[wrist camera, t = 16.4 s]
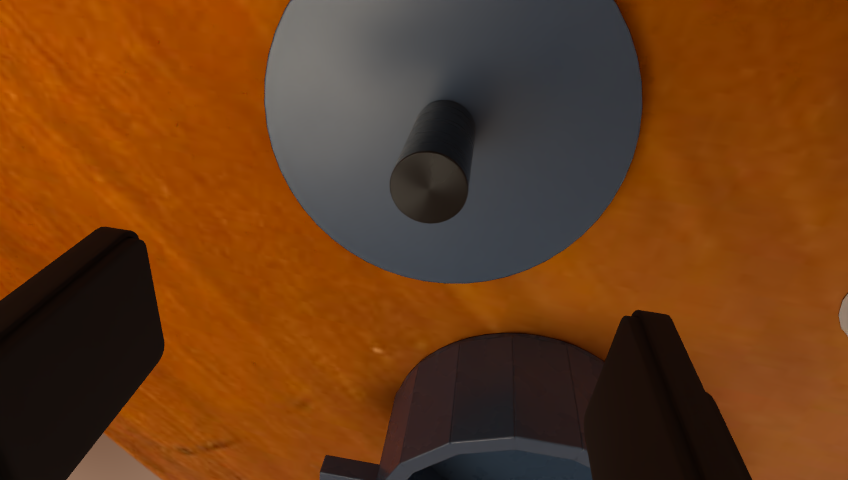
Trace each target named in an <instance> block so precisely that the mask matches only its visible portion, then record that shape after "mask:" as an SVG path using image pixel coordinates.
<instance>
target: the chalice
mask: <svg viewBox="0 0 848 480" xmlns="http://www.w3.org/2000/svg"><path fill="white" fill-rule="evenodd" d="M839 319H840V324H841V328H842V329H843V331H844V332H845V333H846V334H847V336H848V294H847V295H846V297H845V298H844V300H843V301H842V305H841V309H840V312H839Z"/></svg>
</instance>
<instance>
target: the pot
mask: <svg viewBox="0 0 848 480" xmlns="http://www.w3.org/2000/svg"><path fill="white" fill-rule="evenodd" d="M603 365H604V362H603V361H602V360H600V359H599V358H597V357H596V356H594V355H592V354H591V353H589V352H587V351H585V350H583V349H581V348H578V347H576V346H574V345H572V344H569V343H566V342H563V341H560V340H557V339H552V338H547V337H543V336H538V335H529V334H516V333H501V334H490V335H482V336H477V337H472V338H468V339H465V340H461V341H458V342H455V343H452V344H450V345H448V346H445V347H443V348H441V349H439V350H437V351H436V352H434V353H432V354H431V355H429V356H427V357H426V358H425V359H424V360H422V361H421V362H420V363H419V364H417V365H416V366H415V368H414V369H413V370H412V371H411V372H410V373H409V374H408V375H407V377H406V379H405V380H404V382H403V383H402V385H401V387H400V389H399V390H398V392H397V393H396V395H395V400H394V404H393V409H392V413H391V417H390V422H389V426H388V430H387V435H386V439H385V444H384V448H383V452H382V457H381V461H380V465H378V464H373V463H367V462H362V461H357V460H351V459H346V458H340V457H335V456H329V455H326V456H325V458H324V461H323V464H322V467H321V470H320V480H593V479H592V474H591V468H590V463H589V457H588V452H587V446H586V441H585V435H584V416H585V412H586V409H587V407H588V404H589V402H590V399H591V396H592V394H593V391H594V389H595V386H596V383H597V381H598V378H599V376H600V373H601V371H602V368H603Z"/></svg>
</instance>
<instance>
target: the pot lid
mask: <svg viewBox="0 0 848 480" xmlns="http://www.w3.org/2000/svg"><path fill="white" fill-rule="evenodd" d="M264 104H265V113H266V122H267V128H268V133H269V137H270V141H271V145H272V149H273V152H274V154H275V157H276V160H277V162H278V165H279V168H280V170H281V172H282V174H283V176H284V178H285V180H286V182H287V184H288V186H289V188H290V190H291V191H292V193H293V194H294V196H295V197H296V199H297V200H298V202H299V203H300V205H301V206H302V208H303V209H304V210H305V211H306V212H307V213H308V215H309V216H310V217H311V218H312V219H313V220H314V222H315V223H316V224H317V225H318V226H319V227H320V228H321V229H322V230H323V231H325V232H326V233H327V234H328V235H329V236H330V237H331V238H332V239H333V240H335V241H336V242H337V243H339V244H340V245H341V246H343V247H344V248H345V249H347V250H348V251H349V252H351V253H353V254H355V255H356V256H358V257H360V258H361V259H363V260H365V261H366V262H368V263H371V264H373V265H375V266H377V267H379V268H382V269H384V270H386V271H389V272H392V273H395V274H398V275H401V276H404V277H408V278H413V279H417V280H422V281H428V282H438V283H474V282H483V281H490V280H494V279H499V278H503V277H508V276H510V275H513V274H516V273H519V272H522V271H525V270H528V269H530V268H532V267H534V266H536V265H538V264H540V263H543V262H545V261H547V260H548V259H550V258H552V257H553V256H555V255H556V254H558V253H560V252H561V251H563V250H564V249H566V248H567V247H568V246H569V245H571V244H572V243H573V242H574V241H576V240H577V239H578V238H579V237H581V236H582V235H583V234H584V233H585V232H586V231H587V230H588V229H589V228H590V227H591V226H592V225H593V224H594V223H595V222H596V221H597V220H598V218H599V217H600V216H601V214H602V213H603V212H604V210H605V209H606V208H607V206H608V205H609V204H610V203H611V201H612V200H613V198H614V196H615V194H616V193H617V191H618V189H619V187H620V186H621V184H622V182H623V181H624V178H625V176H626V173H627V171H628V169H629V166H630V164H631V161H632V159H633V156H634V152H635V148H636V144H637V140H638V137H639V132H640V124H641V115H642V81H641V75H640V68H639V62H638V56H637V53H636V50H635V47H634V44H633V40H632V37H631V34H630V31H629V29H628V27H627V25H626V22H625V20H624V18H623V16H622V14H621V12H620V10H619V8H618V6H617V4H616V3H615V1H614V0H290V2H289V3H288V5H287V7H286V8H285V11H284V13H283V15H282V17H281V20H280V22H279V24H278V26H277V28H276V31H275V34H274V37H273V41H272V44H271V48H270V51H269V55H268V61H267V68H266V75H265V99H264Z"/></svg>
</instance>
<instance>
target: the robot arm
mask: <svg viewBox="0 0 848 480" xmlns="http://www.w3.org/2000/svg"><path fill="white" fill-rule="evenodd" d="M163 351H164V338H163V333H162V328H161V322H160V317H159V312H158V306H157V301H156V296H155V291H154V285H153V280H152V275H151V269H150V264H149V259H148V253H147V248H146V245H145V243H144V241H142V240H139V238H138V236H137V234H136V233H135V232H133V231H129V230H123V229H117V228H110V227H100V228H98V229H96V230H95V231H94V232H92V233H91V234H89V235H88V236H87V237H85V238H84V239H83V240H81V241H80V242H79V243H77V244H76V245H75V246H73V247H72V248H71V249H69V250H68V251H67V252H65V253H64V254H63V255H61V256H60V257H59V258H57V259H56V260H55V261H53V262H52V263H50V264H49V265H48V266H46V267H45V268H44V269H42V270H41V271H40V272H38V273H37V274H36V275H34V276H33V277H32V278H30V279H29V280H28V281H26V282H25V283H24V284H22V285H21V286H20V287H18V288H17V289H15V290H14V291H13V292H11V293H10V294H9V295H7V296H6V297H5V298H3V299H2V300H1V301H0V480H66V479H67V478H68V477H69V476H70V474H71V473H72V472H73V470H74V469H75V468H76V467H77V465H78V464H79V463H80V462H81V460H82V459H83V458H84V456H85V455H86V454H87V452H88V451H89V450H90V449H91V448H92V446H93V445H94V444H95V442H96V441H97V440H98V439H99V437H100V436H101V435H102V433H103V432H104V431H105V430H106V428H107V427H108V426H109V425H110V423H111V422H112V421H113V419H114V418H115V417H116V416H117V414H118V413H119V412H120V410H121V409H122V408H123V407H124V405H125V404H126V403H127V402H128V400H129V399H130V398H131V396H132V395H133V394H134V393H135V391H136V390H137V389H138V388H139V386H140V385H141V384H142V382H143V381H144V380H145V379H146V377H147V376H148V375H149V373H150V372H151V371H152V370H153V368H154V367H155V366H156V365H157V363H158V362H159V360H160V359H161V357H162V355H163ZM584 435H585V441H586V446H587V452H588V457H589V463H590V468H591V474H592V479H593V480H752V478H751V476H750V474H749V472H748V470H747V468H746V466H745V464H744V461H743V459H742V457H741V455H740V453H739V451H738V449H737V447H736V445H735V442H734V440H733V438H732V436H731V434H730V432H729V430H728V428H727V426H726V423H725V421H724V419H723V417H722V415H721V413H720V411H719V409H718V407H717V404H716V402H715V401H714V399H713V398H712V396H711V395H709V394H708V393H707V392H705V390H704V388H703V386H702V384H701V382H700V379H699V377H698V375H697V373H696V371H695V369H694V366H693V364H692V362H691V360H690V358H689V356H688V353H687V351H686V349H685V347H684V345H683V343H682V340H681V338H680V336H679V334H678V332H677V330H676V328H675V325H674V323H673V321H672V319H671V318H670V316H669V315H667V314H661V313H654V312H648V311H641V310H636V311H635V312H634V313H633V314H632V316H631V317H630V316H624V317H623V318H622V319H621V321H620V324H619V326H618V329H617V332H616V334H615V337H614V339H613V342H612V345H611V347H610V350H609V352H608V355H607V358H606V360H605V363H604V365H603V368H602V371H601V373H600V376H599V378H598V381H597V383H596V386H595V389H594V391H593V394H592V396H591V399H590V402H589V404H588V407H587V409H586V412H585V416H584Z"/></svg>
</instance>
